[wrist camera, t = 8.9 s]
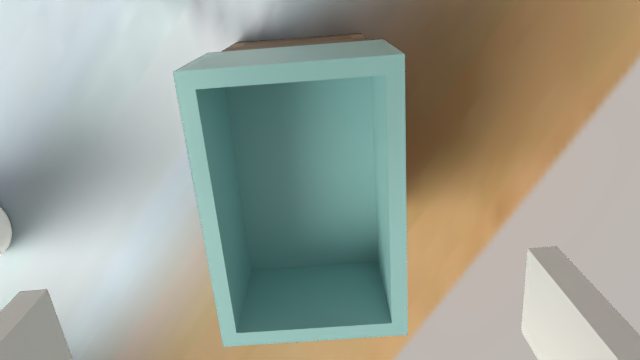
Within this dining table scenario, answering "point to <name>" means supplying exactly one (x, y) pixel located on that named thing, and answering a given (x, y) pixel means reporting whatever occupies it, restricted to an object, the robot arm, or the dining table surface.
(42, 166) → the dining table surface
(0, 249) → the drinking glass
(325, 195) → the teal crate
